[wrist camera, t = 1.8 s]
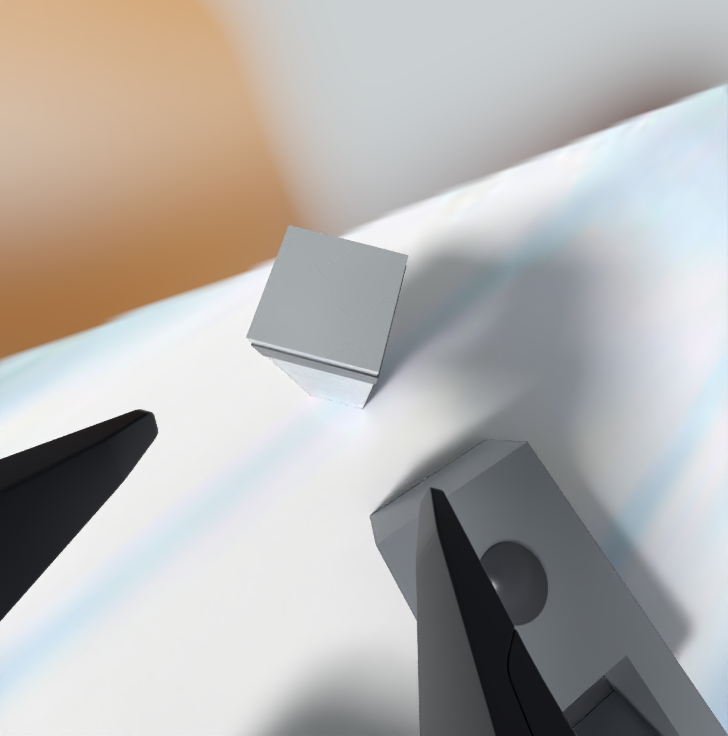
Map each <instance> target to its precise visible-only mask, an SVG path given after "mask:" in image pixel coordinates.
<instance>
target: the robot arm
mask: <svg viewBox="0 0 728 736" xmlns="http://www.w3.org/2000/svg"><path fill="white" fill-rule="evenodd" d="M157 434H158V427H157V424H156V420H155V416H154V414H153V413H152V412H149V411H146V410H141V409H138V410H134V411H131V412H129V413H126V414H123V415H120V416H118V417H115V418H112V419H109V420H107V421H104V422H101V423H99V424H96V425H93V426H90V427H88V428H85V429H82V430H79V431H77V432H74V433H71V434H68V435H66V436H63V437H60V438H57V439H55V440H52V441H49V442H46V443H44V444H41V445H38V446H35V447H33V448H30V449H27V450H24V451H22V452H19V453H16V454H13V455H11V456H8V457H5V458H2V459H0V621H1V620H2V619H3V618H4V617H5V616H6V614H7V613H8V612H9V611H10V610H11V609H12V608H13V606H14V605H15V604H16V603H17V602H18V601H19V600H20V599H21V597H22V596H23V595H24V594H25V593H26V592H27V591H28V589H29V588H30V587H31V586H32V585H33V584H34V583H35V581H36V580H37V579H38V578H39V577H40V576H41V575H42V574H43V572H44V571H45V570H46V569H47V568H48V567H49V566H50V564H51V563H52V562H53V561H54V560H55V559H56V558H57V557H58V555H59V554H60V553H61V552H62V551H63V550H64V549H65V547H66V546H67V545H68V544H69V543H70V542H71V541H72V540H73V538H74V537H75V536H76V535H77V534H78V533H79V532H80V530H81V529H82V528H83V527H84V526H85V525H86V524H87V522H88V521H89V520H90V519H91V518H92V517H93V516H94V515H95V513H96V512H97V511H98V510H99V509H100V508H101V507H102V505H103V504H104V503H105V502H106V501H107V500H108V499H109V498H110V496H111V495H112V494H113V493H114V492H115V491H116V490H117V488H118V487H119V486H120V485H121V484H122V483H123V481H124V480H125V479H126V478H127V476H128V475H129V474H130V472H131V471H132V470H133V468H134V467H135V465H136V464H137V463H138V461H139V460H140V459H141V457H142V456H143V455H144V453H145V452H146V450H147V449H148V448H149V446H150V445H151V444H152V442H153V441H154V439H155V438H156V436H157ZM416 601H417V641H418V680H419V720H420V736H577V735H576V733H575V731H574V730H573V728H572V726H571V725H570V723H569V721H568V720H567V718H566V716H565V715H564V713H563V711H562V710H561V708H560V706H559V705H558V703H557V701H556V700H555V698H554V696H553V694H552V693H551V691H550V689H549V688H548V686H547V684H546V683H545V681H544V679H543V677H542V675H541V674H540V672H539V670H538V668H537V666H536V665H535V663H534V661H533V659H532V657H531V655H530V654H529V652H528V650H527V648H526V646H525V644H524V642H523V640H522V639H521V637H520V635H519V633H518V631H517V630H516V629H514V628H515V626H514V624H513V622H512V620H511V618H510V616H509V614H508V612H507V610H506V608H505V607H504V605H503V603H502V601H501V599H500V597H499V595H498V593H497V591H496V590H495V588H494V586H493V584H492V582H491V580H490V578H489V576H488V574H487V572H486V571H485V569H484V567H483V565H482V563H481V561H480V559H479V557H478V555H477V553H476V552H475V550H474V548H473V546H472V544H471V542H470V540H469V538H468V536H467V535H466V533H465V531H464V529H463V527H462V525H461V523H460V521H459V519H458V517H457V516H456V514H455V512H454V510H453V508H452V506H451V504H450V502H449V500H448V498H447V497H446V495H445V493H444V491H443V490H441V489H438V488H435V487H429V488H428V490H427V491H426V493H425V495H424V497H423V499H422V501H421V503H420V509H419V521H418V534H417V547H416Z"/></svg>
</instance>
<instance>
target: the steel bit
mask: <svg viewBox="0 0 728 736" xmlns="http://www.w3.org/2000/svg"><path fill="white" fill-rule="evenodd" d="M407 258H408V255H405V254H401V253H397V252H393V251H389V250H385V249H381V248H377V247H374V246H370V245H366V244H362V243H358V242H354V241H350V240H346V239H342V238H338V237H334V236H330V235H326V234H322V233H318V232H314V231H311V230H306V229H303V228H299V227H295V226H291V225H289V226H288V228H287V231H286V234H285V236H284V239H283V242H282V245H281V247H280V250H279V252H278V255H277V257H276V260H275V263H274V265H273V268H272V271H271V273H270V276H269V279H268V281H267V284H266V286H265V289H264V292H263V294H262V297H261V300H260V302H259V305H258V308H257V310H256V313H255V315H254V318H253V321H252V323H251V326H250V329H249V331H248V334H247V337H246V338H247V339H248V340H249V341H250V342H251V343H252V344H251V345H252V346H253V347H254V348H255V349H256V350H257V351H258V352H260V353H261V354H262V355H263V356H267V357H268V358H269V359H270V360H271V361H273V362H274V363H275V364H276V365H277V366H278V367H279V368H280V369H281V370H283V371H284V372H285V373H286V374H287V375H288V376H289V377H290V378H291V379H293V380H294V381H295V382H296V383H297V384H298V385H299V386H300V387H301V388H302V389H304V390H305V391H306V392H307V393H308V394H309V395H310V396H314V397H317V398H321V399H325V400H329V401H333V402H336V403H340V404H344V405H348V406H352V407H355V408H359V409H363V407H364V404H365V402H366V400H367V398H368V395H369V393H370V391H371V389H372V386H373V384H374V385H375V384H376V382H377V380H378V377H379V373H380V369H381V365H382V361H383V357H384V353H385V349H386V345H387V341H388V337H389V333H390V329H391V325H392V321H393V317H394V313H395V309H396V305H397V301H398V297H399V293H400V289H401V285H402V281H403V277H404V273H405V269H406V262H407Z"/></svg>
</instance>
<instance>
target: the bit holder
mask: <svg viewBox="0 0 728 736" xmlns="http://www.w3.org/2000/svg"><path fill="white" fill-rule="evenodd" d="M429 487H435V488H438V489H441V490H443V491H444V493H445V495H446V497H447V498H448V500H449V502H450V504H451V506H452V508H453V510H454V512H455V514H456V516H457V517H458V519H459V521H460V523H461V525H462V527H463V529H464V531H465V533H466V535H467V536H468V538H469V540H470V542H471V544H472V546H473V548H474V550H475V552H476V553H477V555H478V557H479V559H480V561H481V563H482V565H483V567H484V569H485V571H486V572H487V574H488V576H489V578H490V580H491V582H492V584H493V586H494V588H495V590H496V591H497V593H498V595H499V597H500V599H501V601H502V603H503V605H504V607H505V608H506V610H507V612H508V614H509V616H510V618H511V620H512V622H513V624H514V626H515V628H514V629H516V630H517V631H518V633H519V635H520V637H521V639H522V640H523V642H524V644H525V646H526V648H527V650H528V652H529V654H530V655H531V657H532V659H533V661H534V663H535V665H536V666H537V668H538V670H539V672H540V674H541V675H542V677H543V679H544V681H545V683H546V684H547V686H548V688H549V689H550V691H551V693H552V694H553V696H554V698H555V700H556V701H557V703H558V705H559V706H560V708H561V710H562V711H564V710H565V709H566V708H567V707H569V706H570V705H571V704H572V703H573V702H574V701H575V700H576V699H578V698H579V697H580V696H581V695H582V694H583V693H584V692H585V691H586V690H588V689H589V688H590V687H591V686H592V685H593V684H594V683H595V682H597V681H598V680H599V679H600V678H601V677H602V676H603V675H604V676H605V677H606V679H607V680H608V682H609V683H610V685H611V687H612V688H613V690H614V691H613V692H612V693H611V694H610V695H609V696H608V697H607V698H605V699H604V700H603V701H602V702H601V703H600V704H599V705H598V706H597V707H596V708H594V709H593V710H592V711H591V712H590V713H589V714H588V715H587V716H586V717H585V718H584V719H582V720H581V721H580V722H579V723H578V724H577V725H576V726H575V727H574V728H573V730H574V731H575V733H576V735H577V736H728V734H727V733H726V732H725V730H724V729H723V727H722V726H721V724H720V723H719V721H718V720H717V718H716V717H715V715H714V714H713V713H712V711H711V710H710V708H709V707H708V705H707V704H706V702H705V701H704V699H703V698H702V696H701V695H700V694H699V692H698V691H697V689H696V688H695V686H694V685H693V683H692V682H691V680H690V679H689V677H688V676H687V675H686V673H685V672H684V670H683V669H682V667H681V666H680V664H679V663H678V661H677V660H676V658H675V657H674V656H673V654H672V653H671V651H670V650H669V648H668V647H667V645H666V644H665V642H664V641H663V639H662V638H661V637H660V635H659V634H658V632H657V631H656V629H655V628H654V626H653V625H652V623H651V622H650V620H649V619H648V618H647V616H646V615H645V613H644V612H643V610H642V609H641V607H640V606H639V604H638V603H637V601H636V600H635V599H634V597H633V596H632V594H631V593H630V591H629V590H628V588H627V587H626V585H625V584H624V582H623V581H622V580H621V578H620V577H619V575H618V574H617V572H616V571H615V569H614V568H613V566H612V565H611V563H610V562H609V561H608V559H607V558H606V556H605V555H604V553H603V552H602V550H601V549H600V547H599V546H598V544H597V543H596V542H595V540H594V539H593V537H592V536H591V534H590V533H589V531H588V530H587V528H586V527H585V525H584V524H583V523H582V521H581V520H580V518H579V517H578V515H577V514H576V512H575V511H574V509H573V508H572V507H571V505H570V504H569V502H568V501H567V499H566V498H565V496H564V495H563V493H562V492H561V490H560V489H559V488H558V486H557V485H556V483H555V482H554V480H553V479H552V477H551V476H550V474H549V473H548V471H547V470H546V469H545V467H544V466H543V464H542V463H541V461H540V460H539V458H538V457H537V455H536V454H535V452H534V451H533V450H532V448H531V447H530V445H529V444H528V442H522V441H503V440H484V441H483V442H481V443H480V444H478V445H477V446H475V447H474V448H472V449H471V450H469V451H468V452H466V453H465V454H463V455H462V456H460V457H459V458H457V459H456V460H454V461H453V462H451V463H449V464H448V465H446V466H445V467H443V468H442V469H440V470H439V471H437V472H436V473H434V474H433V475H431V476H430V477H428V478H427V479H425V480H424V481H422V482H421V483H419V484H418V485H416V486H415V487H413V488H412V489H410V490H409V491H407V492H406V493H404V494H403V495H401V496H400V497H398V498H397V499H395V500H394V501H392V502H390V503H389V504H387V505H386V506H384V507H383V508H381V509H380V510H378V511H377V512H375V513H374V514H372V515H371V516H370V520H371V524H372V529H373V534H374V538H375V543H376V546H377V548H378V550H379V551H380V553H381V555H382V557H383V559H384V561H385V563H386V564H387V566H388V568H389V570H390V572H391V574H392V576H393V577H394V579H395V581H396V583H397V585H398V587H399V589H400V590H401V592H402V594H403V596H404V598H405V600H406V602H407V603H408V605H409V607H410V609H411V611H412V613H413V615H414V616H415V618H416V620H417V601H416V547H417V534H418V521H419V509H420V503H421V501H422V499H423V497H424V495H425V493H426V491H427V490H428V488H429Z"/></svg>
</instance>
